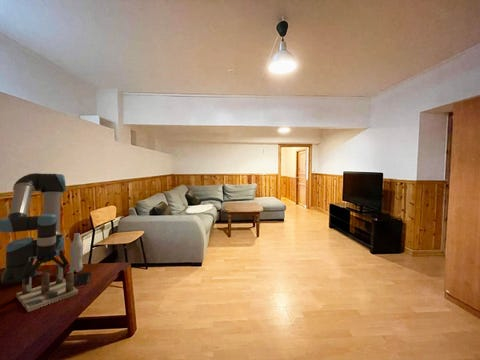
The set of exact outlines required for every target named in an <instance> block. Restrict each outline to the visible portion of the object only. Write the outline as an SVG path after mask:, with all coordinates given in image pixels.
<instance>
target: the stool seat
mask: <svg viewBox="0 0 480 360" xmlns="http://www.w3.org/2000/svg"><path fill="white" fill-rule="evenodd" d="M59 267H61V266H60V265H58V264H56V267H55V269H56V270H55V272H56V273H55V281H54V282H50V286H49V290H50V291H57V292H58V295H57V296H55V297H52V298H49V297H48V295H45V294H42V293H41V285H38V286H36V287H33V288H31V291H27V290H26V289H27V285H25V284H24V279H22V282H21V288H22V289H21V291H19V292H16V299H17V300H18V301H19V302H20V303H21V305H22V306H23V307H24V308H25V310H26V312H27V313H29V312H32V311H35V310H38V309H40V307H41V308H43V306H44V307H46V306H49V305H52V304H55V303H57V302H60V301H63V300H65V298H66V299H68V298H71V297H74V296H76V295H78V294H79V289H77V288H76V286H73V283H74V272H75V271H70V270H69V271H67V272H65V278H63V279H62V280H60V279H58V270H59ZM30 277H31V276H30ZM62 299H63V300H62ZM59 300H60V301H59ZM54 302H55V303H54ZM51 303H52V304H51ZM48 304H49V305H48Z"/></svg>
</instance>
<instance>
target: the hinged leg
mask: <svg viewBox="0 0 480 360" xmlns="http://www.w3.org/2000/svg"><path fill="white" fill-rule="evenodd" d="M50 273H51V272H44V273H42V274H41V281H40V282H41V284H40V286H41V293H42V294H45V295H48V297H49V298H52V297H55V296H57V295H58V292H57V291H50V290H49V286H50V283H51V282H50V281H51V280H50V279H51V277H50V276H51V274H50Z"/></svg>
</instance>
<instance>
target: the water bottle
mask: <svg viewBox="0 0 480 360" xmlns="http://www.w3.org/2000/svg"><path fill="white" fill-rule="evenodd" d="M83 256H84V242H83V241H82V240H81V234H80V232H75V233H73V240H72V241H71V244H70V245H69V258H70V263H69V267H68V269H69V271H74V272H76V273H80V271H82V269H83V268H84V265H83V263H82V262H83Z"/></svg>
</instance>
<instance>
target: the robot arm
mask: <svg viewBox="0 0 480 360" xmlns="http://www.w3.org/2000/svg"><path fill="white" fill-rule="evenodd" d="M66 191H67V185H66V178H65V175H64V174H62V173H61V174H59V173H38V172H37V173H35V172H34V173H33V172H32V173H29V174H26V175H24V176H22V177H20V178H18V179H17V180H16V181H15V183H14V184H13V187H12V192H14V193H13V196H12V199H11V203H10V208H9V211H8V214H7V217H2V218H0V232H1V233H16V232H18V233H19V232H26V231H29V232H30V231H36V232H37V233H36V234H37V235H36V239H35V238H34V237H23V238H17V239H14V240H12V241H10V242H8V243H7V244H6V248H5V269H4V270H3V273H2V275H1V278H0V283H1V284H3V285H14V284H20V283H22V279H24V284H25V285H27V289H26V290H27V291H31V289H32V283H33V282H32V279H33V278H36V276H37V269H38V268H39V267H40V266H42V264H46V263H48V262H51V261H53V262H54V263H56V265H60V266H61V267H59V270H58V279H60V280H62V279H64V274H65V269H66V266H68V265H70V262H69V260H67V258H66V256H65V254H64V253H63V252H64V245H65V241H66V240H65V239H66V237H65V236H63V233H62V232H61V231H60V226H61V225H60V223H61V222H60V221H61V196H63V195H64V192H66ZM35 192H40V195H42V196H43V202H42V205H43V206H42V214H39V215H32V216H31V215H29V210H30V204H31V200H32V194H33V193H35ZM56 256H57V257H59V258H60V260H61V261H62V262H61V261H60V260H59V259H58V258H56ZM30 276H31V277H30Z"/></svg>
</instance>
